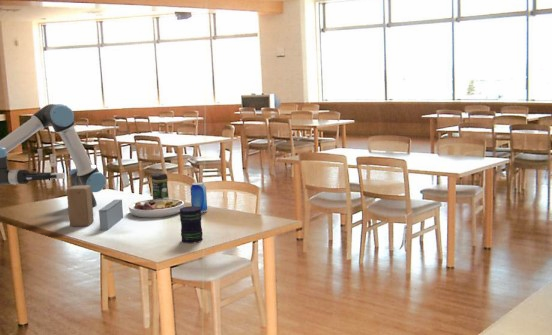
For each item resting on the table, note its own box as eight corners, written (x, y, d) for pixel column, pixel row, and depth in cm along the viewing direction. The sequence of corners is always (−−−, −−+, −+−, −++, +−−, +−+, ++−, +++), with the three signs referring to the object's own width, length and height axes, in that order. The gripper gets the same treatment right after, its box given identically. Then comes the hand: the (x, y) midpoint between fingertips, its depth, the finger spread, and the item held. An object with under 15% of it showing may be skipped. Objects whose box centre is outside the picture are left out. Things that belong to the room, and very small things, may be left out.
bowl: (142, 206, 382) (141, 193, 381) (191, 207, 376) (190, 193, 375) (120, 219, 353) (119, 204, 352) (173, 219, 347) (172, 205, 346)
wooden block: (88, 226, 338) (85, 188, 335) (69, 227, 338) (65, 188, 335) (94, 221, 348) (91, 184, 344) (75, 222, 348) (72, 185, 345)
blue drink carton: (189, 213, 360) (187, 184, 357) (196, 209, 367) (195, 181, 365) (202, 214, 357) (201, 185, 354) (210, 210, 364) (208, 182, 362)
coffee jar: (150, 204, 388) (148, 173, 385) (162, 201, 394) (160, 171, 391) (160, 206, 381) (158, 174, 379) (171, 203, 387) (169, 172, 384)
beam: (115, 218, 355) (114, 199, 353) (123, 217, 354) (121, 199, 353) (100, 230, 329) (98, 210, 328) (108, 229, 329) (106, 210, 327)
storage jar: (202, 242, 299) (200, 210, 296) (180, 243, 298) (178, 211, 296) (203, 236, 309) (201, 205, 306) (182, 238, 308) (180, 206, 306)
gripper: (25, 181, 348) (69, 180, 347) (13, 186, 334) (59, 185, 333) (24, 167, 347) (68, 166, 346) (12, 171, 333) (57, 170, 332)
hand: (63, 175), depth 339 cm, fingers closed
